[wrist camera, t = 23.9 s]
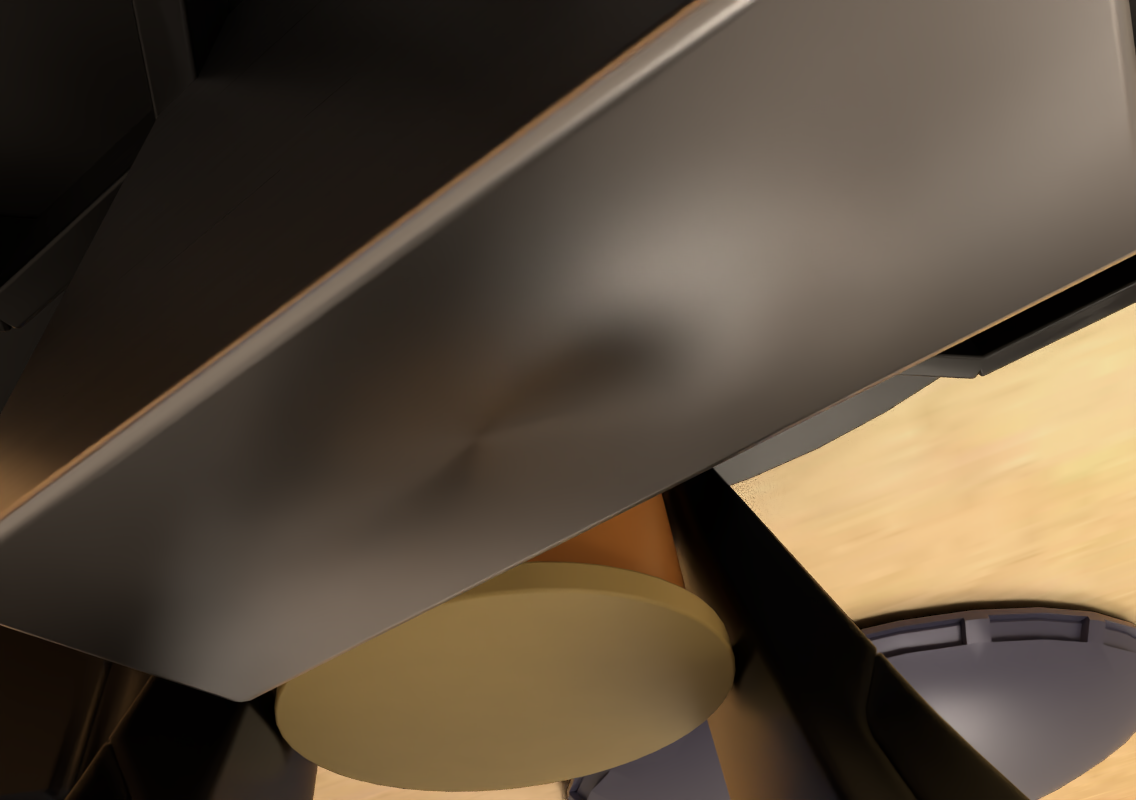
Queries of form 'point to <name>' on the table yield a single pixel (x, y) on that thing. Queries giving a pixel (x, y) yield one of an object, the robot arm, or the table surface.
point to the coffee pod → (525, 672)
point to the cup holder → (495, 280)
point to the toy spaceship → (962, 700)
